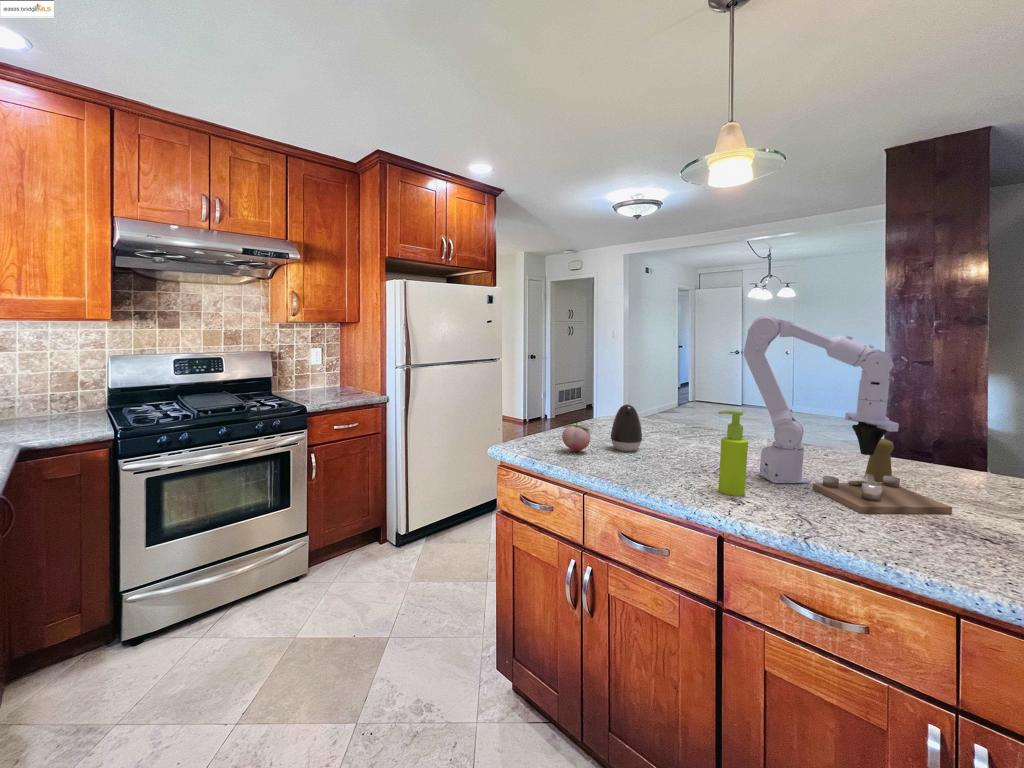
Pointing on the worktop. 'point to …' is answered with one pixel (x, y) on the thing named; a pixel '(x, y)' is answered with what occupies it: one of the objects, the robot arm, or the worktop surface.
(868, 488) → the lever handle
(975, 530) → the worktop surface
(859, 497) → the brown latch board
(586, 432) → the decorative fruit
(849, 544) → the worktop surface
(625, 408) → the black rounded dome
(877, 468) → the cork
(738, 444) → the soap dispenser
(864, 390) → the robot arm
